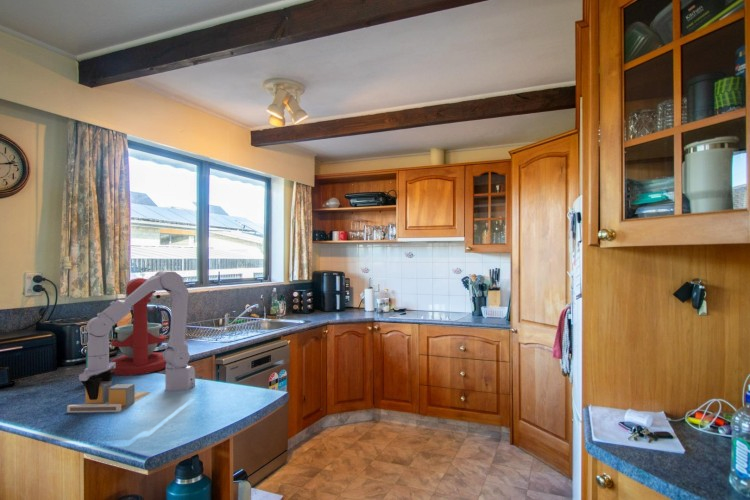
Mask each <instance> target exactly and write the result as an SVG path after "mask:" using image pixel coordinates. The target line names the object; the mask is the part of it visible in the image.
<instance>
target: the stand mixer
mask: <svg viewBox="0 0 750 500" xmlns="http://www.w3.org/2000/svg"><path fill="white" fill-rule="evenodd" d="M146 280H147V279H146V278H143V277H137V278H134V279H131V280H130V281H129V282H127V284H126V289H125V290H126V293H125V298H127V297H128V296H129V295H130V294H131V293H132V292H134V291H135V290H136V289H137V288H138V287H139V286H141V285H142V284H143V283H144V282H145V281H146ZM154 292H155V291H152V292H150V293H149V294H147V295H146V296H145V297H143V298H142V299H141V300H139V301H138V302H137V303H135V304H134V305H133V306H132V307H133V308H132V309H133V318H131V320H130V321H129V322H128V323H127V324H125V325H120V326H117V327H115V328H114V333H116V337H114V338H112V339H111V343H110V345H111V347H115V348H119V351H120V352H121V353H122V354H123V355H122V356H119V357H116V358H114V359H112V360H111V361H110V360H109V363H110V362H116V368H114V369H110V371H115V374H114V375H115V376H137V375H145V374H150V373H154V372H158V371H160V370H162V369H165V368H166V367H165V366H166V363H167V362H166V361H165V360H164V358H163V354H164V352H163V353H162V352H154V351H155V349H157V346H158V344H159V343H163V342H165V341H166V340H167V339H166V338H167V337H166V335H165V334H164V333H162V332H160V331H161V328H162V327H163V325H162V324H161V323H156V322H149V320H148V304H149V303H151V302H152V301H151V300H153V299H154V298H156V299H160V298H161V295H160V294H156V295H155V294H154ZM114 375H113V376H114Z"/></svg>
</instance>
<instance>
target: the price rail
mask: <svg viewBox="0 0 750 500" xmlns="http://www.w3.org/2000/svg"><path fill="white" fill-rule="evenodd" d="M66 407H67V410H66V412H76V413H118V412H121V411H122V410H121V404H87V405H83V404H68V405H67V406H66Z"/></svg>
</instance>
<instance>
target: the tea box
mask: <svg viewBox="0 0 750 500" xmlns="http://www.w3.org/2000/svg"><path fill="white" fill-rule="evenodd" d="M112 386H113V381H112V380H111V381H101V382H100V385H99V392H98V397H97V399H96V400H90V399H89V396H88V393H87V390H86V388H85V387H84V404H105V403H107V402H108V388H110V387H112Z"/></svg>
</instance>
